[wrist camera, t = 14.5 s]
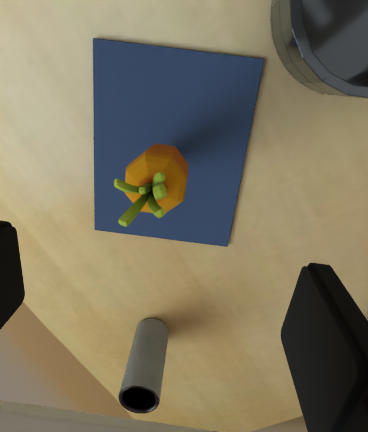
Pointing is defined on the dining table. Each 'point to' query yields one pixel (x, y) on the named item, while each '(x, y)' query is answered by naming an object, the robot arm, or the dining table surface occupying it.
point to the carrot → (154, 182)
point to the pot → (324, 44)
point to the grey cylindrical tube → (145, 367)
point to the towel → (172, 132)
